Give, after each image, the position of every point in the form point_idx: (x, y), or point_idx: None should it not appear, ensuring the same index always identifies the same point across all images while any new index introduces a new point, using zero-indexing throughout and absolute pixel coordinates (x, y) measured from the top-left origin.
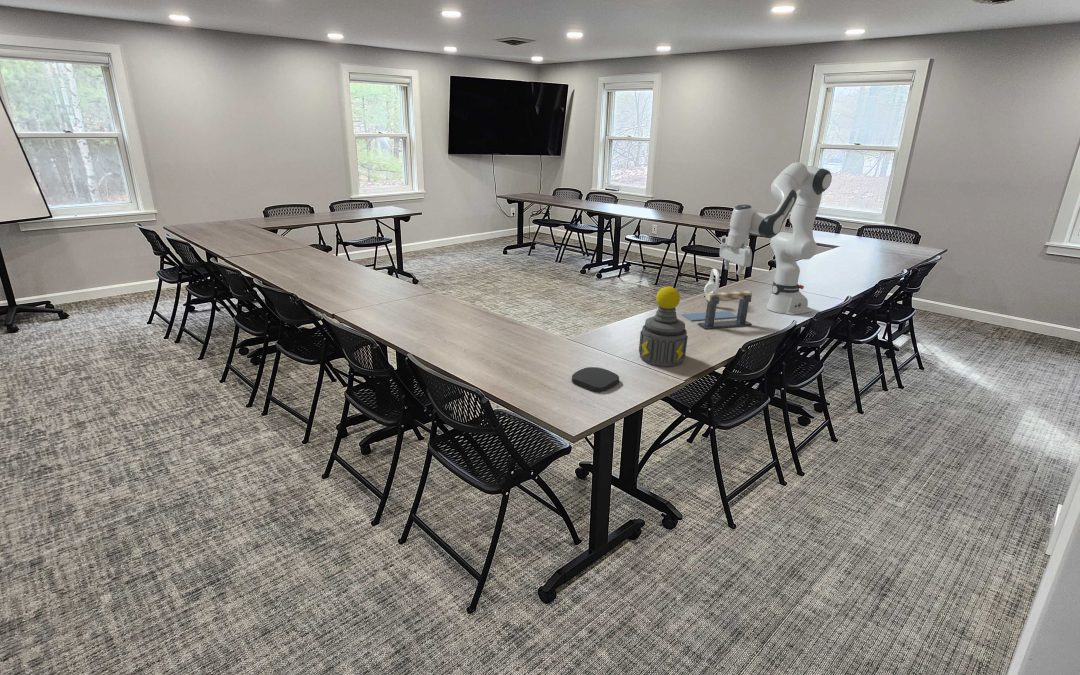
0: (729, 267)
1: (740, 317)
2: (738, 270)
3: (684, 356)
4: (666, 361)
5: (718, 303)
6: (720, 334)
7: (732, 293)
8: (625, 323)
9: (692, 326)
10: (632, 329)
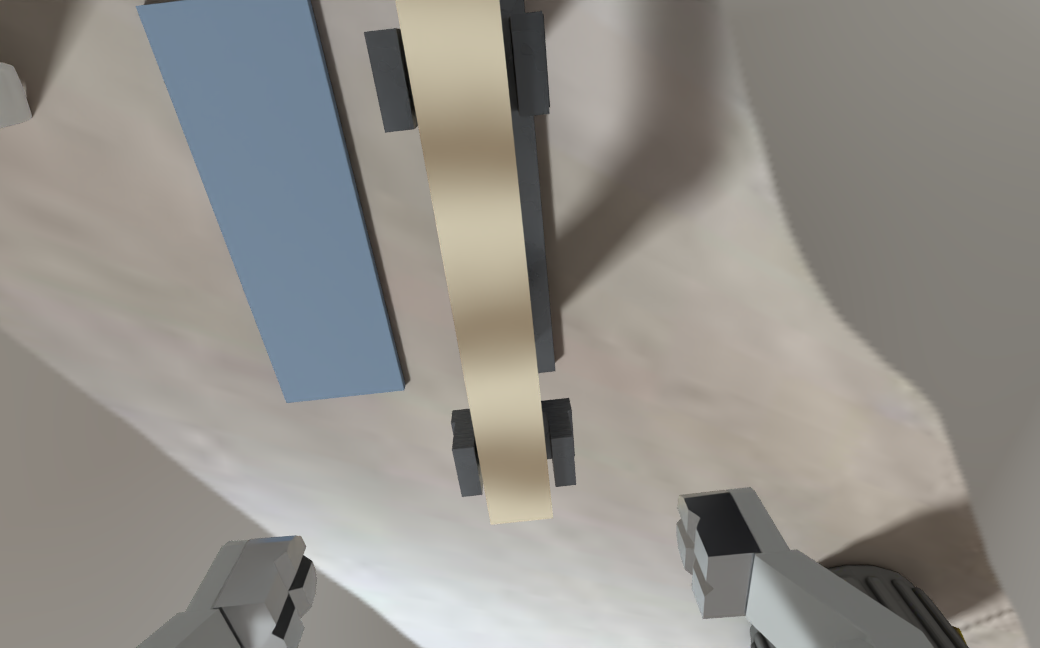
0: (278, 574)
1: None
2: (783, 630)
3: (926, 596)
4: None
5: (569, 402)
6: (652, 308)
7: (515, 295)
8: (437, 644)
9: None
10: (515, 636)
